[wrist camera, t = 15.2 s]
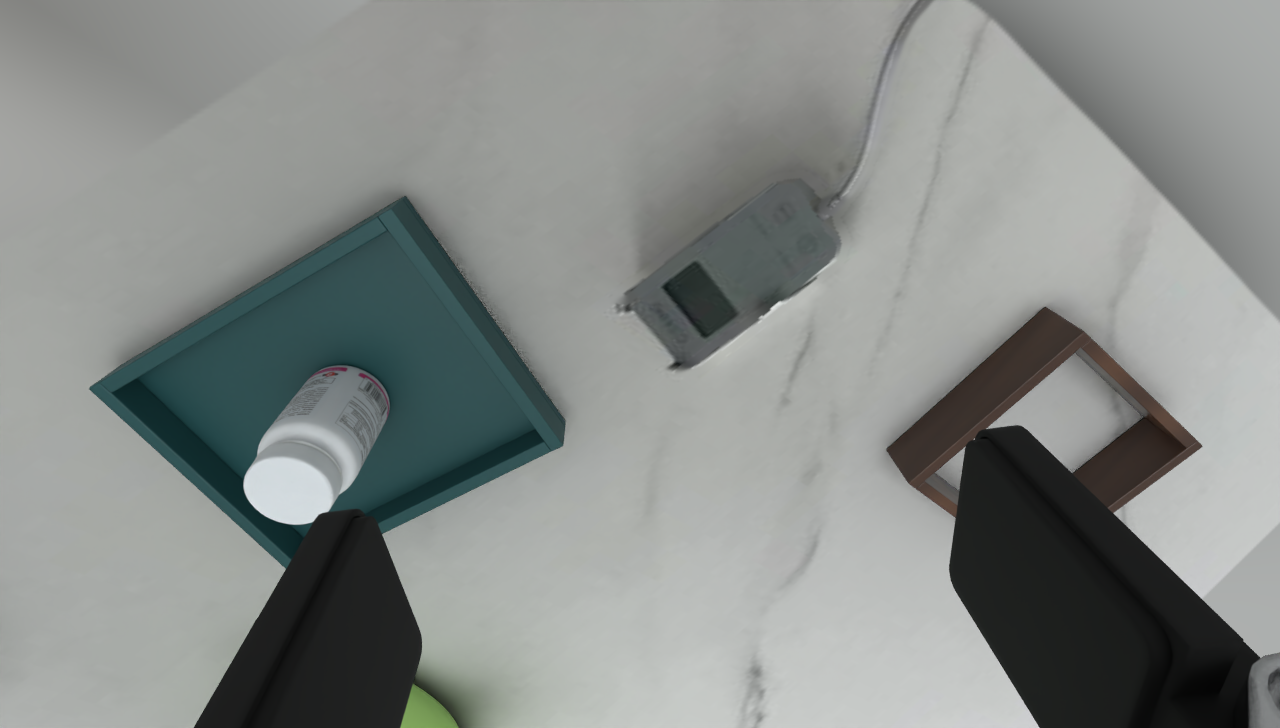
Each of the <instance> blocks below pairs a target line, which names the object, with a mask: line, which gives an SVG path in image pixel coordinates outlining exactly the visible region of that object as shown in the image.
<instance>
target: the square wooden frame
mask: <svg viewBox="0 0 1280 728" xmlns="http://www.w3.org/2000/svg"><path fill="white" fill-rule="evenodd" d="M1074 353H1076V354H1077V355H1078V356H1079V357H1080V358H1082V359H1083V360H1084V361H1085V362H1086V363H1087V364H1088V365H1089V366H1090V367H1091V368H1092V369H1093V370H1094V371H1095V372H1096V373H1097V374H1099V375H1100V376H1101V377H1102V378H1103V379H1104V380H1105V381H1106V382H1107V383H1108V384H1109V385H1110V386H1111V387H1112V388H1113V389H1115V390H1116V391H1117V392H1118V393H1119V394H1120V395H1121V396H1122V397H1123V398H1124V399H1125V400H1126V401H1127V402H1128V403H1129V404H1130V405H1132V406H1133V407H1134V408H1135V409H1136V410H1137V411H1138V412H1139V413H1140V414H1141V415H1142V416H1143V417H1144V418H1143V419H1142V420H1141V421H1139V422H1138V423H1137V424H1136V425H1134V426H1133V427H1132V428H1131V429H1129V430H1128V431H1127V432H1125V433H1124V434H1123V435H1122V436H1120V437H1119V438H1118V439H1117V440H1115V441H1114V442H1113V443H1111V444H1110V445H1109V446H1108V447H1106V448H1105V449H1104V450H1102V451H1101V452H1100V453H1099V454H1097V455H1096V456H1095V457H1094V458H1092V459H1091V460H1090V461H1088V462H1087V463H1086V464H1085V465H1083V466H1082V467H1081V468H1080V469H1078V470H1077V471H1076V472H1074V473H1073V475H1074V476H1075V477H1076V478H1077V479H1078V480H1079V481H1080V482H1081V483H1082V484H1083V485H1084V486H1085V487H1086V488H1087V489H1088V490H1089V491H1091V492H1092V493H1093V494H1094V495H1095V496H1096V497H1097V498H1098V499H1099V500H1100V501H1101V502H1102V503H1103V504H1104V505H1105V506H1106V507H1107V508H1108V509H1109V510H1110V511H1111V512H1112V513H1114V512H1115V511H1117V510H1118V509H1119V508H1121V507H1122V506H1123V505H1125V504H1126V503H1127V502H1129V501H1130V500H1131V499H1133V498H1134V497H1135V496H1137V495H1138V494H1140V493H1141V492H1142V491H1144V490H1145V489H1146V488H1148V487H1149V486H1150V485H1152V484H1153V483H1154V482H1156V481H1157V480H1158V479H1160V478H1161V477H1162V476H1164V475H1165V474H1166V473H1168V472H1169V471H1171V470H1172V469H1173V468H1175V467H1176V466H1177V465H1179V464H1180V463H1181V462H1183V461H1184V460H1185V459H1187V458H1188V457H1189V456H1191V455H1192V454H1193V453H1195V452H1196V451H1197V450H1199V449H1200V448H1201V447H1202V445H1201V444H1200V443H1199V442H1198V441H1197V440H1196V439H1195V438H1194V437H1193V436H1192V435H1191V434H1190V433H1189V432H1188V431H1187V430H1186V429H1185V428H1184V427H1183V426H1182V425H1181V424H1180V423H1179V422H1178V421H1177V420H1175V419H1174V418H1173V417H1172V416H1171V415H1170V414H1169V413H1168V412H1167V411H1166V410H1165V409H1164V408H1163V407H1162V406H1161V405H1160V404H1159V403H1158V402H1157V401H1156V400H1155V399H1154V398H1153V397H1152V396H1151V395H1150V394H1149V393H1148V392H1146V391H1145V390H1144V389H1143V388H1142V387H1141V386H1140V385H1139V384H1138V383H1137V382H1136V381H1135V380H1134V379H1133V378H1132V377H1131V376H1130V375H1129V374H1128V373H1127V372H1126V371H1125V370H1124V369H1123V368H1122V367H1121V366H1120V365H1118V364H1117V363H1116V362H1115V361H1114V360H1113V359H1112V358H1111V357H1110V356H1109V355H1108V354H1107V353H1106V352H1105V351H1104V350H1103V349H1102V348H1101V347H1100V346H1099V345H1098V344H1097V343H1096V342H1095V341H1094V340H1093V339H1091V337H1090V336H1088V335H1087V334H1086V333H1085V332H1084V331H1083V330H1081V329H1080V328H1078V327H1076V326H1075V325H1073V324H1072V323H1070V322H1069V321H1067V320H1066V319H1064V318H1062V317H1061V316H1059V315H1058V314H1056V313H1055V312H1053V311H1051V310H1050V309H1048V308H1047V307H1045V308H1043V309H1042V310H1041V311H1040V312H1039V313H1038V314H1037V315H1036V316H1035V317H1033V318H1032V319H1031V320H1030V321H1029V322H1028V323H1027V324H1026V325H1025V326H1023V327H1022V328H1021V329H1020V330H1019V331H1018V332H1017V333H1016V334H1015V335H1013V336H1012V337H1011V338H1010V339H1009V340H1008V341H1007V342H1006V343H1005V344H1003V345H1002V346H1001V347H1000V348H999V349H998V350H997V351H996V352H995V353H993V354H992V355H991V356H990V357H989V358H988V359H987V360H986V361H985V362H983V363H982V364H981V365H980V366H979V367H978V368H977V369H976V370H975V371H973V372H972V373H971V374H970V375H969V376H968V377H967V378H966V379H965V380H963V381H962V382H961V383H960V384H959V385H958V386H957V387H956V388H954V389H953V390H952V391H951V392H950V393H949V394H948V395H947V396H946V397H944V398H943V399H942V400H941V401H940V402H939V403H938V404H937V405H936V406H934V407H933V408H932V409H931V410H930V411H929V412H928V413H927V414H926V415H924V416H923V417H922V418H921V419H920V420H919V421H918V422H917V423H916V424H914V425H913V426H912V427H911V428H910V429H909V430H908V431H907V432H906V433H904V434H903V435H902V436H901V437H900V438H899V439H898V440H897V441H896V442H894V443H893V444H892V445H891V446H890V447H889V448H888V449H887V452H888V453H889V455H890V456H891V458H892V459H893V461H894V462H895V464H896V465H897V467H898V468H899V470H900V471H901V473H902V474H903V476H904V477H905V479H906V480H907V482H908V483H909V484H910V485H911V486H913V487H914V488H916V489H917V490H918V491H920V492H921V493H922V494H924V495H925V496H926V497H928V498H929V499H931V500H932V501H933V502H935V503H936V504H937V505H939V506H940V507H942V508H943V509H944V510H946V511H947V512H948V513H950V514H951V515H953V516H954V517H955V518H956V513H957V506H958V498H959V491H958V490H956V489H955V488H954V487H952V486H951V485H950V484H948V483H947V482H946V481H944V480H943V479H942V478H940V477H939V476H938V475H936V474H935V472H936V471H937V470H938V469H939V468H941V467H942V466H943V465H944V464H945V463H946V462H948V461H949V460H950V459H951V458H952V457H953V456H955V455H956V454H957V453H958V452H959V451H960V450H962V449H963V448H964V447H965V446H966V444H967V443H968V442H969V441H971V440H973V439H974V438H976V435H977V433H978V432H979V431H981V430H984V429H986V428H987V427H988V426H990V425H991V424H992V423H993V422H994V421H995V420H997V419H998V418H999V417H1000V416H1001V415H1002V414H1004V413H1005V412H1006V411H1007V410H1008V409H1009V408H1011V407H1012V406H1013V405H1014V404H1015V403H1016V402H1018V401H1019V400H1020V399H1021V398H1022V397H1023V396H1025V395H1026V394H1027V393H1028V392H1029V391H1031V390H1032V389H1033V388H1034V387H1035V386H1036V385H1038V384H1039V383H1040V382H1041V381H1042V380H1043V379H1045V378H1046V377H1047V376H1048V375H1049V374H1050V373H1052V372H1053V371H1054V370H1055V369H1056V368H1057V367H1059V366H1060V365H1061V364H1062V363H1063V362H1064V361H1066V360H1067V359H1068V358H1069V357H1070V356H1071V355H1073V354H1074Z"/></svg>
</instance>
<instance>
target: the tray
mask: <svg viewBox="0 0 1280 728" xmlns="http://www.w3.org/2000/svg"><path fill="white" fill-rule="evenodd" d="M336 365H347V366H352V367H356V368H359V369H361V370H364V371H366V372H368V373H369V374H371V375H372V376H374V377H375V378H376V379H377V380H378V381H379V382H380V383H381V384H382V385H383V387H384V388H385V390H386V392H387V394H388V397H389V402H390V409H389V414H388V417H387V420H386V422H385V424H384V426H383V428H382V430H381V432H380V433H379V435H378V437H377V439H376V441H375V443H374V445H373V447H372V448H371V450H370V452H369V454H368V456H367V458H366V460H365V462H364V464H363V465H362V467H361V469H360V471H359V473H358V475H357V477H356V478H355V480H354V481H353V483H352V484H351V485H350V487H349V488H348V489H346V490H345V491H344V492H343V493H341V494H339V495H338V497H337V499H336V501H335V502H334V504H333V505H332V507H331V509H330V510H329V511H328V512H332V511H340V510H348V509H360V510H361V511H362V512H364V514H365V516H366V517H367V516H372V517H374V518H375V519H376V521H377V523H378V526H379V528H380V531H381V533H382V534H383V533H385V532H387V531H389V530H391V529H393V528H395V527H397V526H399V525H401V524H403V523H405V522H407V521H409V520H412V519H414V518H416V517H418V516H420V515H422V514H424V513H426V512H428V511H430V510H432V509H434V508H436V507H438V506H440V505H442V504H444V503H446V502H448V501H450V500H452V499H455V498H457V497H459V496H461V495H463V494H465V493H467V492H469V491H471V490H473V489H475V488H477V487H479V486H481V485H483V484H485V483H487V482H489V481H491V480H493V479H496V478H498V477H500V476H502V475H504V474H506V473H508V472H510V471H512V470H514V469H516V468H518V467H520V466H522V465H524V464H526V463H528V462H530V461H532V460H534V459H536V458H539V457H541V456H543V455H545V454H547V453H549V452H550V451H553V450H555V449H557V448H560V447H562V446H563V443H564V433H565V420H564V419H563V417H562V416H561V415H560V413H559V412H558V410H557V409H556V407H555V406H554V405H553V403H552V402H551V400H550V399H549V398H548V396H547V395H546V393H545V392H544V391H543V389H542V388H541V386H540V385H539V384H538V382H537V381H536V379H535V378H534V376H533V375H532V374H531V372H530V371H529V369H528V368H527V367H526V365H525V364H524V362H523V361H522V360H521V358H520V357H519V355H518V354H517V353H516V351H515V350H514V348H513V347H512V345H511V344H510V343H509V341H508V340H507V338H506V337H505V336H504V334H503V333H502V331H501V330H500V329H499V327H498V326H497V324H496V323H495V321H494V320H493V319H492V317H491V316H490V314H489V313H488V312H487V310H486V309H485V307H484V306H483V305H482V303H481V302H480V300H479V299H478V298H477V296H476V295H475V293H474V292H473V290H472V289H471V288H470V286H469V285H468V283H467V282H466V281H465V279H464V278H463V276H462V275H461V274H460V272H459V271H458V269H457V268H456V267H455V265H454V264H453V262H452V261H451V259H450V258H449V257H448V255H447V254H446V252H445V251H444V250H443V248H442V247H441V245H440V244H439V243H438V241H437V240H436V238H435V237H434V236H433V234H432V233H431V231H430V230H429V228H428V227H427V226H426V224H425V223H424V221H423V220H422V219H421V217H420V216H419V214H418V213H417V212H416V210H415V209H414V207H413V206H412V204H411V203H410V202H409V200H408V199H407V197H406V196H404V197H402V198H401V199H399V200H397V201H396V202H394V203H392V204H391V205H389V206H387V207H385V208H384V209H382V210H380V211H379V212H377V213H375V214H374V215H372V216H370V217H369V218H367V219H365V220H364V221H362V222H360V223H359V224H357V225H355V226H354V227H352V228H350V229H349V230H347V231H345V232H344V233H342V234H340V235H339V236H337V237H335V238H333V239H332V240H330V241H328V242H327V243H325V244H323V245H322V246H320V247H318V248H317V249H315V250H313V251H312V252H310V253H308V254H307V255H305V256H303V257H302V258H300V259H298V260H297V261H295V262H293V263H292V264H290V265H288V266H287V267H285V268H283V269H282V270H280V271H278V272H276V273H275V274H273V275H271V276H270V277H268V278H266V279H265V280H263V281H261V282H260V283H258V284H256V285H255V286H253V287H251V288H250V289H248V290H246V291H245V292H243V293H241V294H240V295H238V296H236V297H235V298H233V299H231V300H230V301H228V302H226V303H224V304H223V305H221V306H219V307H218V308H216V309H214V310H213V311H211V312H209V313H208V314H206V315H204V316H203V317H201V318H199V319H198V320H196V321H194V322H193V323H191V324H189V325H188V326H186V327H184V328H183V329H181V330H179V331H178V332H176V333H174V334H172V335H171V336H169V337H167V338H166V339H164V340H162V341H161V342H159V343H157V344H156V345H154V346H152V347H151V348H149V349H147V350H146V351H144V352H142V353H141V354H139V355H137V356H136V357H134V358H132V359H131V360H129V361H127V362H126V363H124V364H122V365H120V366H119V367H118V368H116V369H115V370H114V371H112V372H111V373H109V374H108V375H106V376H105V377H104V378H102V379H101V380H99V381H98V382H96V383H95V384H94V385H92V386H91V387H90V388H89V389H90V390H91V391H92V392H93V393H94V394H95V395H96V396H97V397H98V398H99V399H100V400H102V401H103V402H104V403H105V404H106V405H107V406H108V407H109V408H110V409H111V410H113V411H114V412H115V413H116V414H117V415H118V416H119V417H120V418H121V419H122V420H124V421H125V422H126V423H127V424H128V425H129V426H130V427H131V428H132V429H133V430H134V431H136V432H137V433H138V434H139V435H140V436H141V437H142V438H143V439H144V440H145V441H147V442H148V443H149V444H150V445H151V446H152V447H153V448H154V449H155V450H156V451H157V452H159V453H160V454H161V455H162V456H163V457H164V458H165V459H166V460H167V461H168V462H170V463H171V464H172V465H173V466H174V467H175V468H176V469H177V470H178V471H179V472H180V473H182V474H183V475H184V476H185V477H186V478H187V479H188V480H189V481H190V482H191V483H193V484H194V485H195V486H196V487H197V488H198V489H199V490H200V491H201V492H202V493H204V494H205V495H206V496H207V497H208V498H209V499H210V500H211V501H212V502H213V503H214V504H216V505H217V506H218V507H219V508H220V509H221V510H222V511H223V512H224V513H225V514H227V515H228V516H229V517H230V518H231V519H232V520H233V521H234V522H235V523H236V524H237V525H239V526H240V527H241V528H242V529H243V530H244V531H245V532H246V533H247V534H248V535H250V536H251V537H252V538H253V539H254V540H255V541H256V542H257V543H258V544H259V545H260V546H262V547H263V548H264V549H265V550H266V551H267V552H268V553H269V554H270V555H271V556H273V557H274V558H275V559H276V560H277V561H278V562H279V563H280V564H281V565H282V566H284V567H285V568H286V569H287V567H288V565H289V563H290V562H291V560H292V558H293V556H294V555H295V553H296V551H297V549H298V548H299V546H300V544H301V543H302V541H303V539H304V537H305V536H306V534H307V532H308V530H309V529H310V527H311V525H312V524H313V522H311V523H307V524H301V525H292V524H285V523H281V522H277V521H274V520H272V519H270V518H268V517H266V516H264V515H263V514H261V513H260V512H259V511H258V510H256V509H255V508H254V507H253V505H252V504H251V503H250V502H249V500H248V499H247V497H246V495H245V492H244V486H243V485H244V477H245V475H246V472H247V471H248V469H249V468H250V466H251V465H252V463H253V462H254V460H255V459H256V457H257V451H258V446H259V444H260V441H261V439H262V438H263V436H264V434H265V433H266V432H267V430H268V429H269V428H270V426H271V425H272V424H273V423H274V421H275V420H276V419H277V418H278V416H279V415H280V414H281V413H282V411H283V410H284V409H285V408H286V406H287V405H288V404H289V403H290V401H291V400H292V399H293V398H294V396H295V395H296V394H297V393H298V391H299V390H300V389H301V388H302V386H303V385H304V384H305V383H306V381H307V380H308V379H309V378H310V377H311V376H312V375H313V374H315V373H316V372H318V371H319V370H321V369H323V368H326V367H330V366H336Z"/></svg>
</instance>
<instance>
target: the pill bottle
mask: <svg viewBox="0 0 1280 728" xmlns="http://www.w3.org/2000/svg"><path fill="white" fill-rule="evenodd" d="M389 409H390V402H389V397H388V394H387V392H386V390H385V388H384V387H383V385H382V384H381V383H380V382H379V381H378V380H377V379H376V378H375V377H374V376H372V375H371V374H369V373H368V372H366V371H364V370H361V369H359V368H356V367H352V366H347V365H336V366H330V367H326V368H323V369H321V370H319V371H318V372H316V373H315V374H313V375H312V376H311V377H310V378H309V379H308V380H307V381H306V383H305V384H304V385H303V386H302V388H301V389H300V390H299V391H298V393H297V394H296V395H295V396H294V398H293V399H292V400H291V401H290V403H289V404H288V405H287V406H286V408H285V409H284V410H283V411H282V413H281V414H280V415H279V416H278V418H277V419H276V420H275V421H274V423H273V424H272V425H271V426H270V428H269V429H268V430H267V432H266V433H265V434H264V436H263V438H262V439H261V441H260V444H259V446H258V451H257V457H256V459H255V460H254V462H253V463H252V465H251V466H250V468H249V469H248V471H247V472H246V475H245V477H244V485H243V486H244V492H245V495H246V497H247V499H248V500H249V502H250V503H251V504H252V505H253V507H254V508H255V509H256V510H258V511H259V512H260V513H261V514H263V515H264V516H266V517H268V518H270V519H272V520H274V521H277V522H281V523H285V524H292V525H301V524H307V523H311V522H314V520H315V519H316V517H317V516H318V515H319V514H321V513H325V512H328V511H329V510H330V509H331V507H332V505H333V504H334V502H335V501H336V499H337V497H338V495H339V494H341V493H343V492H344V491H345V490H346V489H348V488H349V487H350V485H351V484H352V483H353V481H354V480H355V478H356V477H357V475H358V473H359V471H360V469H361V467H362V465H363V464H364V462H365V460H366V458H367V456H368V454H369V452H370V450H371V448H372V447H373V445H374V443H375V441H376V439H377V437H378V435H379V433H380V432H381V430H382V428H383V426H384V424H385V422H386V420H387V417H388V414H389Z"/></svg>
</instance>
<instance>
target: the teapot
mask: <svg viewBox="0 0 1280 728" xmlns="http://www.w3.org/2000/svg"><path fill="white" fill-rule="evenodd" d="M400 728H459V727H458V725H457V724H456V722H455V720H454V719H453V717H452V716H451V715H450V713H449V712H448V711H447V710H446V709H445V708H444V707H443V706H442V705H441V704H440V703H439V702H438V701H437V700H435V699H434V698H433V697H432V696H430V695H429V694H428V693H426V692H425V691H424V690H422V689H420V688H419V687H417V686H416V685H414V684H413V685H412V689H411V692H410V696H409V699H408V703H407V706H406V710H405V713H404V716H403V720H402V723H401V727H400Z"/></svg>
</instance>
